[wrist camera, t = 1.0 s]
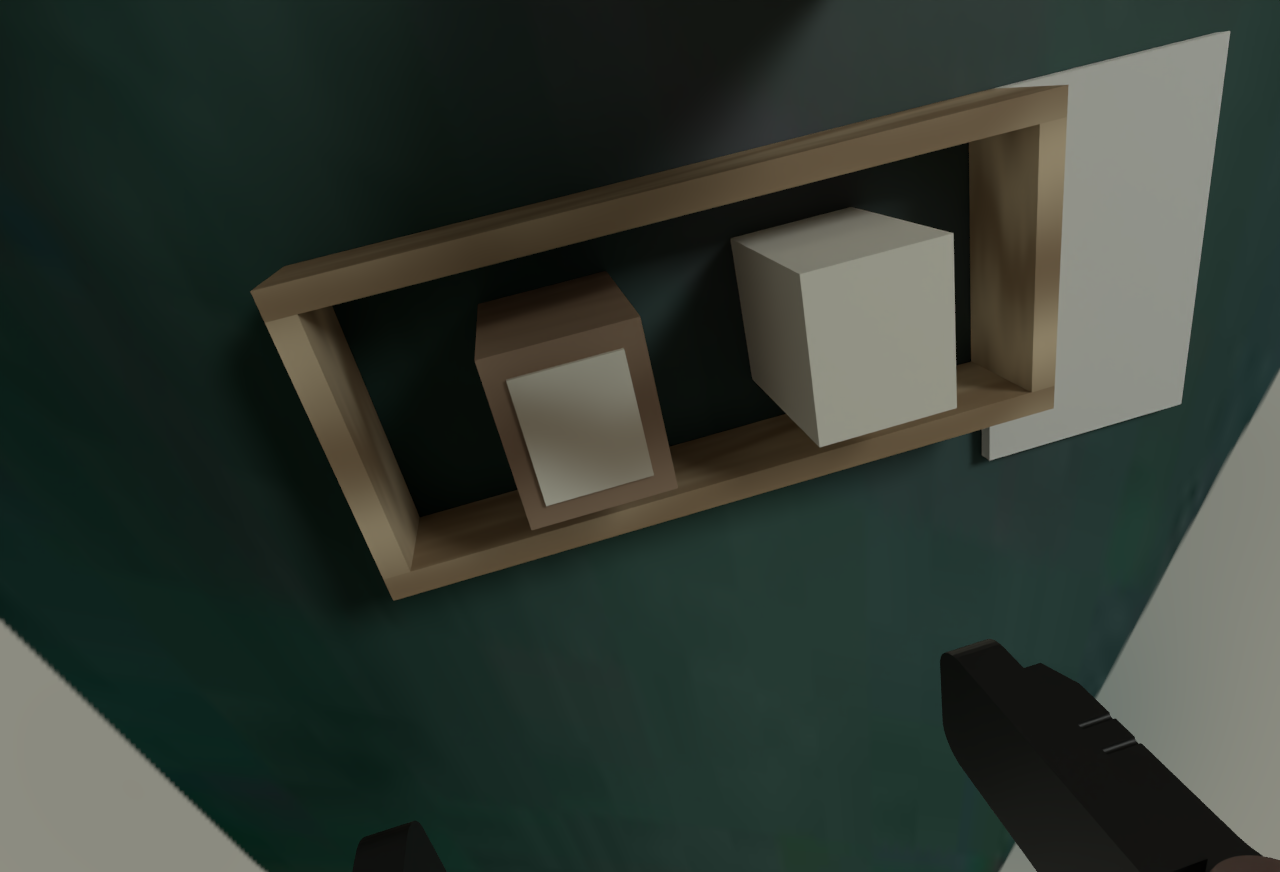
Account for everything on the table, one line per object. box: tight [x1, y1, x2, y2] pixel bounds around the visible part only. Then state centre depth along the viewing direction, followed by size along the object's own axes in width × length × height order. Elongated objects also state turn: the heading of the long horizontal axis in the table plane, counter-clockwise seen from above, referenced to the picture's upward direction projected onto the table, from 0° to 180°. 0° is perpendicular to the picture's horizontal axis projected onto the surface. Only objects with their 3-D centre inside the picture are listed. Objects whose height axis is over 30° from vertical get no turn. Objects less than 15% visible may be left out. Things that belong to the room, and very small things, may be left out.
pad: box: [982, 31, 1230, 461], centre depth 31 cm, size 16×10×1 cm, turn 12°
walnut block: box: [475, 271, 678, 530], centre depth 25 cm, size 6×5×7 cm
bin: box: [250, 85, 1069, 601], centre depth 27 cm, size 12×27×4 cm, turn 102°
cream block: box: [730, 207, 957, 447], centre depth 26 cm, size 6×5×7 cm
